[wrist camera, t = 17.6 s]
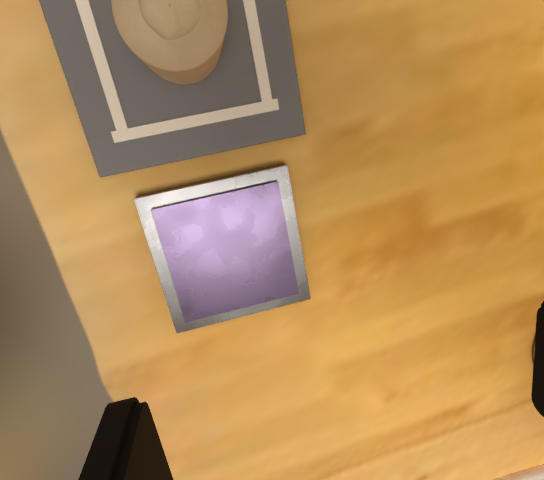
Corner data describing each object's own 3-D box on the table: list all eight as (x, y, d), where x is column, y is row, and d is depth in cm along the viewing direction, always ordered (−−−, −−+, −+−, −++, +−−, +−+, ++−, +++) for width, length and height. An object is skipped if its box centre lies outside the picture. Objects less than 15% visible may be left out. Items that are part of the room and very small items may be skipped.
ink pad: (284, 163, 31) (288, 166, 29) (307, 292, 35) (311, 300, 33) (136, 196, 30) (132, 200, 28) (177, 326, 34) (176, 335, 32)
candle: (122, 37, 26) (75, -10, 16) (180, -22, 25) (166, -105, 16) (182, 102, 28) (170, 93, 18) (237, 48, 27) (254, 10, 18)
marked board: (265, -112, 25) (267, -119, 24) (303, 133, 30) (306, 134, 30) (15, -78, 23) (9, -84, 23) (102, 176, 29) (99, 178, 28)
